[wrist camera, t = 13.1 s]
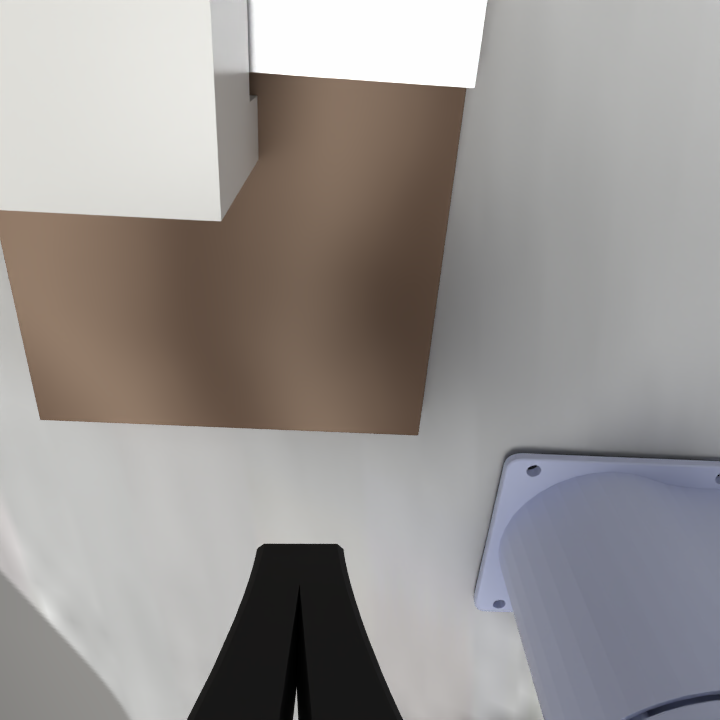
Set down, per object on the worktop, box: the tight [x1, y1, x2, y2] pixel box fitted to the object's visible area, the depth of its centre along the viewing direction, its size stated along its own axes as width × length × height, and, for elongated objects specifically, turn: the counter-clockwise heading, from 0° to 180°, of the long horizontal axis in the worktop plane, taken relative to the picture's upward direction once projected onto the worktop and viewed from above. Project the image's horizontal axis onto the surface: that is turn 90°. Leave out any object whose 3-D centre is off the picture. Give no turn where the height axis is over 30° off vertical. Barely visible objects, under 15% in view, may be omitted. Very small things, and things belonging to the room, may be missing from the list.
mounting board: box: [0, 72, 466, 435], centre depth 17 cm, size 12×16×2 cm
